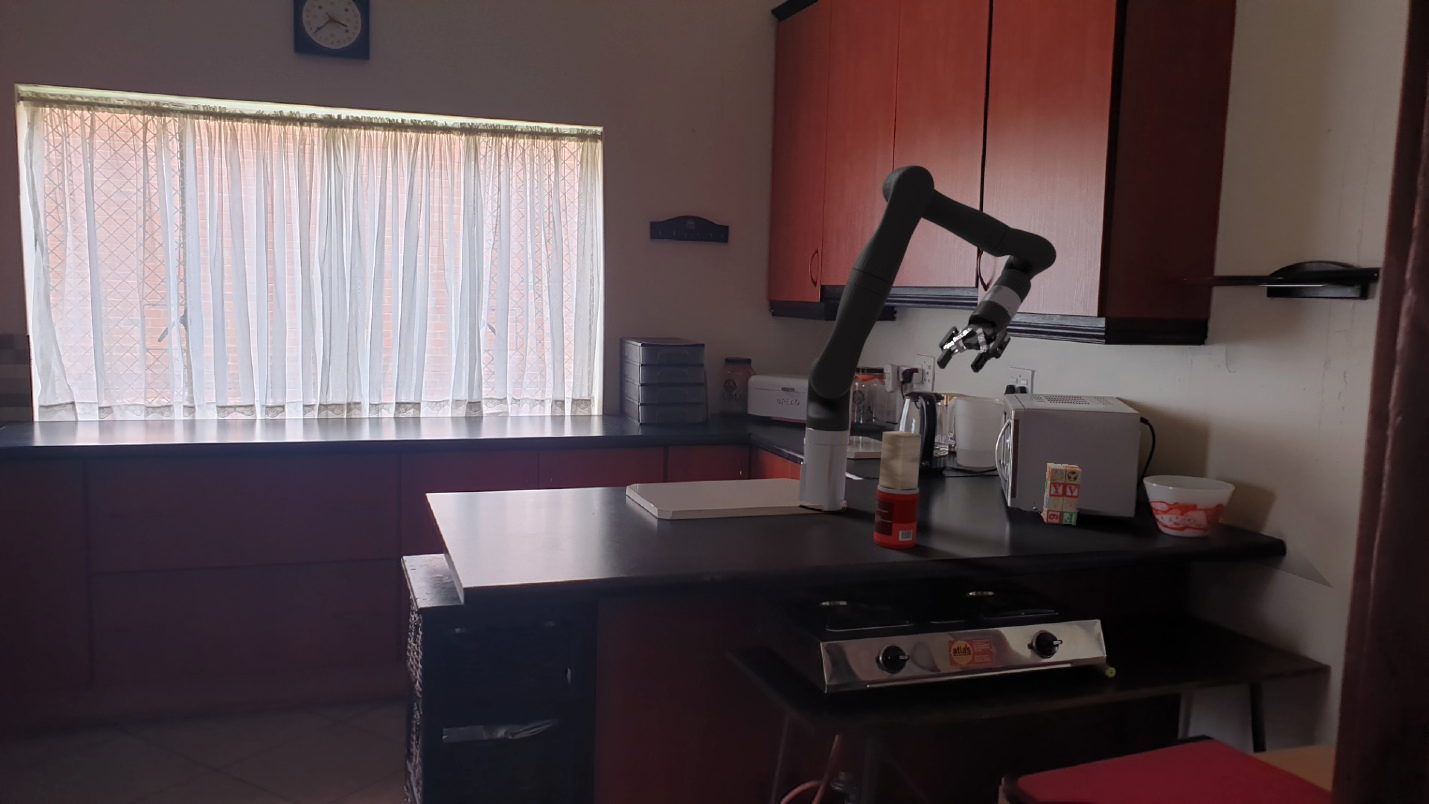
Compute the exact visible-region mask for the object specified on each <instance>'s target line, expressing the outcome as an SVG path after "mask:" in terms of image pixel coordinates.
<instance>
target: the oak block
mask: <svg viewBox="0 0 1429 804" xmlns="http://www.w3.org/2000/svg"><path fill="white" fill-rule="evenodd" d="M881 440H882V441H881V451H880V465H879V467H880V468H879V480H878V485H881V486H885V487H889V488H893V489H898V490H904V489H911V488H917V487H918V483H919V472H920V471H919V470H920V460H921V459H920V456H921V447H922V446H921V444H922V434H919V433H914V432H910V431H909V432H908V431H903V430H893V431H882V439H881Z"/></svg>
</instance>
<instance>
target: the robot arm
mask: <svg viewBox="0 0 1429 804" xmlns="http://www.w3.org/2000/svg"><path fill="white" fill-rule="evenodd" d="M881 188H882V189H881V190H882V196H883V198H884V200H885V203H886V207H885V209H884V211H883V214H882V217H881V219H880V222H879V224H878V225H877V228H876V230H875V231H874V233H873V234H872V235H871V237H870V239H869V240H868V241H867V243H866V244H865V245H864V247H863V249H862V250H861V252H860V253H859V255H858V256H857V258H856V260H855V261H854V264H853V265H852V269H851V271H850V273H849V276H848V278H847V279H846V280H847V281H846V284H845V285H844V287H843V288H844V289H843V291H842V295H841V298H840V300H839V301H840V302H839V304H838V305H839V306H838V308H837V312H836V318H835V321H834V324H833V328H832V330H831V333H830V335H829V336H828V339H827V342H826V343H825V345H824V347H823V349H822V351H821V353H820V355H819V356H818V357H816V358H815V359H814V360H813V361H812V363H811V365H810V367H809V371H808V378H807V379H808V381H807V382H808V383H807V395H806V396H807V399H806V410H805V411H806V413H805V414H806V416H805V418H806V419H805V420H806V423H805V435H804V437H805V438H804V454H803V461H802V462H801V463H800V473H799V488H798V500H799V501H806V502H808V503H810V504H819V505H822V506H824V507H823V508H824V510H823V511H833V512H835V511H839V510H840V511H841V510H843V509H842V506H843V507H844V505H843V504H845V503H844V502H845V489H846V477H847V476H846V475H847V460H848V446H849V445H848V443H849V430H850V418H851V417H850V404H851V403H850V401H851V390H852V389H851V387H852V386H853V382H854V379H855V375H856V372H857V368H858V365H859V362H860V359H861V355H862V352H863V349H864V346H865V344H866V342H867V339H868V337H869V335H870V334H871V332H872V330H873V328H874V327H875V325H876V323H877V321H878V319H879V316H880V315H881V313H882V311H883V308H884V307H885V305H886V302H887V300H888V297H889V295H890V293H891V291H892V288H893V286H894V284H895V281H896V278H897V275H898V274H899V271H900V269H901V266H902V263H903V260H904V258H905V255H906V252H907V249H908V247H909V243H910V242H911V239H912V237H913V235H914V232H915V231H916V229H917V227H918V225H919V223H920V221H921V219H924V220H926V221H928V222H931V223H932V224H935V225H936V226H939V227H940V228H942V229H944V230H947V231H948V232H950V233H951V234H953V235H955V236H957V237H958V238H960V239H962V240H963V241H966V242H967V243H968V244H971V245H972V246H974V247H975V248H978V249H980V250H981V251H983V252H984V253H986V254H988V255H991V256H992V257H994V258H1002V257H1006V256H1009V257H1008V258H1007V259H1006V261H1005V263H1004V266H1003V267H1002V271H1001V273H1000V275H999V277H998V278H997V279H996V281H995V282H994V283H993V285H992V287H991V288H990V289H989V290H988V291H987V292H986V293H985V294H984V296H983V297H982V298H981V300H980V302H978V304H977V306H976V307H975V308H974V310H973V311H972V312H971V314H970V316H969V318H968V323H967V325H966V326H965V327H964V328H963V329H958V327H957V326H956V325H954V326H951V328H950V329H949V330H948V331H947V333H945V335H944V337H943V338H942V339H941V341H940V342H939V343H938V347H939V349H940V350H941V353H940V355H939V356H938V358H937V359H936V364H937V366H938V367H939V369H940V370H944V369H945V368H946V367H947V366H948V364H949V363H950V361H951V360H952V358H953V356H955V355H957V354H958V353H960V354H961V353H962V354H963V353H965V352H966V351H968V350H969V351H971V350H975V351H980V350H981V351H980V352H978V353H977V355H976V357H975V358H974V359H973V360H972V363H970V369H971V370H972V372H973V373H977V374H979V372H980V371H981V370H982V369H983V368H984V367H985V365H986V364H987V362H988V361H990V360H992V359H993V358H994V359H995V360H997V359H998V360H999V359H1000V358H1001V357H1002V355H1003V353H1004V352H1005V349H1006V348H1007V346H1008V345H1009V343H1010V342H1011V337H1010V333H1009V332H1008V331H1007V328H1008V326H1009V325H1010V324H1011V322H1012V321H1013V320H1014V318H1015V316H1016V314H1017V313H1018V311H1019V309H1020V307H1021V305H1022V304H1023V302H1024V301H1025V300H1026V298H1027V297H1028V295H1029V294H1030V292H1031V288H1032V282H1031V281H1032V279H1034V278H1035V276H1038V275H1039V274H1041V273H1043V272H1044V271H1045V270H1048V269H1049V268H1051V267H1052V266H1053V265H1054V263H1056V259H1057V250H1056V248H1055V246H1054V244H1053V243H1051V241H1050V240H1049V239H1047V238H1046V237H1044V236H1042V235H1040V234H1037V233H1033V232H1030V231H1027V230H1023V229H1019V228H1016V227H1011V226H1010V225H1008V224H1006V223H1004V222H1003V221H1002V220H999V219H997V217H994V216H992V215H990V214H989V213H986V212H984V211H982V210H979V209H977V208H974V207H971V206H969V205H967V204H964V203H961V202H959V201H958V200H954V199H953V198H950V197H949V196H947V195H945V194H943V193H942V192H941V191H939V190H937V189H935V181H934V177H933V175H932V173H931V172H930V171H929V170H928V169H927V168H926V167H924V166H921V165H907V166H902V167H897V168H896V169H894V170H892V171H891V172H889V173H888V174H887V175H886V177H885V178H884V179H883V183H882V187H881ZM960 341H961V343H962V345H960ZM991 344H992V345H991ZM954 347H955V348H954ZM952 348H953V349H952Z"/></svg>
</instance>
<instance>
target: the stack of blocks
mask: <svg viewBox="0 0 1429 804" xmlns="http://www.w3.org/2000/svg"><path fill="white" fill-rule="evenodd" d="M1076 465H1077V464H1076ZM1076 465H1068V464H1062V465H1061V464H1054V463H1047V472H1046V482H1045V494H1044V505H1043V512H1042V513H1041V514H1040V516H1041V517H1042V519H1043V521H1044V522H1045V523H1046V524H1053V525H1054V524H1055V525H1064V524H1072V525H1071V526H1076V524H1077V517H1078V505H1079V497H1080V489H1081V481H1082V480H1081V479H1082V469H1081V468H1080V467H1079V466H1078V465H1077V466H1076Z"/></svg>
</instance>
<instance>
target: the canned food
mask: <svg viewBox="0 0 1429 804" xmlns="http://www.w3.org/2000/svg"><path fill="white" fill-rule="evenodd" d="M919 500H920V488H919V486H917V488H911V489H904V490H898V489H893V488H889V487H885V486H881V485H879V484H878V485H877V490H876V503H875V514H874V515H875V517H874V529H873V539H874V540H873V542H874V544H876V545H877V546H879V547H883V548H887V549H894V550H895V549H896V550H906V548H907V549H910V548H913V547H914V546H915V543H916V535H917V526H918V524H917V523H918V514H919V513H918V512H919V503H920V502H919Z"/></svg>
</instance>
